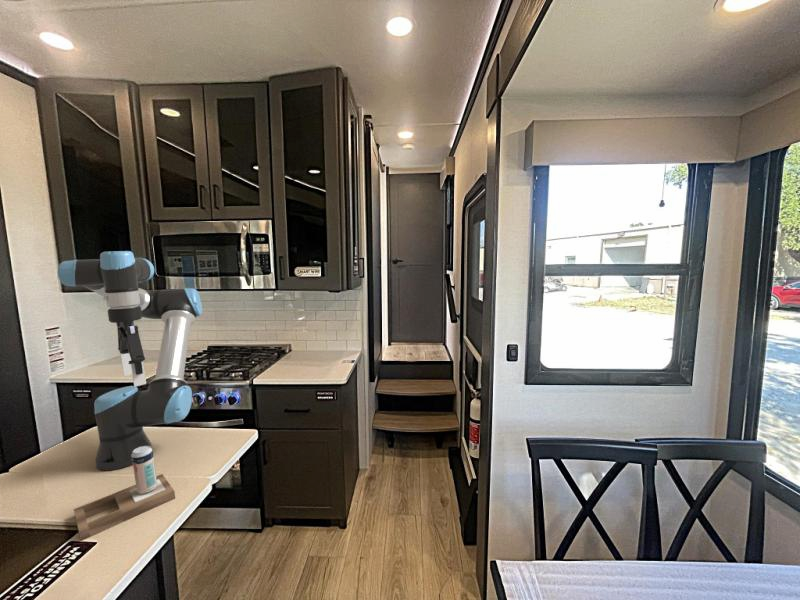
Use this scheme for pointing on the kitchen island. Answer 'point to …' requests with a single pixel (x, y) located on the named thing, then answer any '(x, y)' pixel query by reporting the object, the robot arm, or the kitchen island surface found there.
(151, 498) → the pocket board
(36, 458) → the kitchen island surface
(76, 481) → the kitchen island surface
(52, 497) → the kitchen island surface
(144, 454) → the beer can
